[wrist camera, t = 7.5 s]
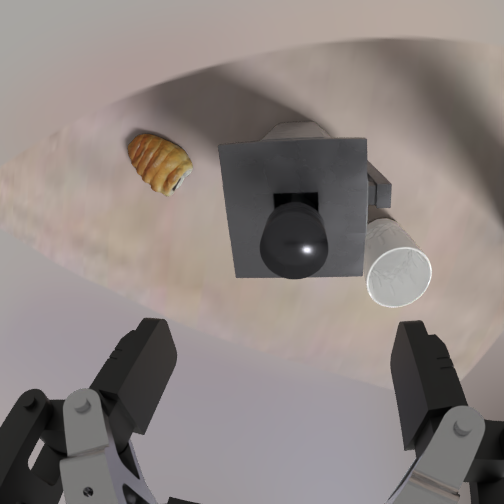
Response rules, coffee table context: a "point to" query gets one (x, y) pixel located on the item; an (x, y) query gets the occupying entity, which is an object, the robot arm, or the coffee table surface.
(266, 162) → the square french press
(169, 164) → the pastry
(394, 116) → the coffee table surface
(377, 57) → the coffee table surface
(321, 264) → the plunger
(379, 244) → the white cup
